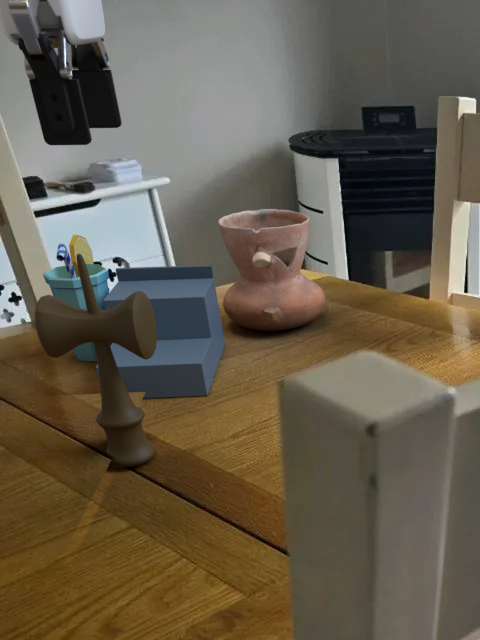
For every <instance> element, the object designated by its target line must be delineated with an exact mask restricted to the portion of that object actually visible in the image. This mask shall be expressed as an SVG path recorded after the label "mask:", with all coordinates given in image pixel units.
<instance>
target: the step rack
mask: <svg viewBox="0 0 480 640" xmlns="http://www.w3.org/2000/svg"><path fill="white" fill-rule="evenodd" d="M115 273H116V278H117V283H116V284H115V285H114V286H113V287H112V289H111V290H109V294H108V295H107V296H106V297H105V299H104V300H103V303H104V307H105V310H108V309H112V308H114V307H115V306H117V305H118V304H119V303H121V302H122V301H123V300H124V299H126V298H127V297H128V296H130V295H131V294H133V293H135V292H137V291H142V292H143V293H145V294H146V295H147V297H148V299H149V301H150V303H151V305H152V308H153V312H154V315H155V321H156V328H157V344H156V349H155V352H154V354H153V356H152V357H151V358H149V359H143V358H141V357H139V356H137V355H135V354H134V353H132V352H130V351H129V350H127V349H125V348H123V347H122V346H120V345H118V344H115V343H112V344H111V346H110V347H111V350H112V353H113V356H114V359H115V361H116V364H117V367H118V369H119V372H120V375H121V377H122V380H123V382H124V384H125V387H126V389H127V391H128V394H129V393H144V395H143V397H142V400H143V399H163V398H164V399H165V398H166V399H167V398H183V397H184V398H188V397H208V396H209V395H208V394H209V393H210V389H211V387H212V384H213V380H214V378H215V375H216V373H217V369H218V367H219V364H220V361H221V358H222V355H223V354H224V353H223V352H224V349H225V347H226V342H225V336H224V335H225V334H224V329H223V324H222V318H221V311H220V306H219V300H218V295H217V287H216V282H215V278H214V270H213V265H212V264H200V265H197V264H196V265H171V266H170V265H169V266H167V265H165V266H140V267H139V266H138V267H116V268H115ZM95 371H96V374H97V378H98V382H99V383H100V379H99V371H98V364H96V366H95Z"/></svg>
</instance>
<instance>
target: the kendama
mask: <svg viewBox="0 0 480 640" xmlns="http://www.w3.org/2000/svg"><path fill="white" fill-rule="evenodd" d="M76 258H77V266H78V271H79V276H80V280H81V285H82V289H83V294H84V298H85V303H86V307H87V310H85V309H80V308H77V307H74V306H72V305H70V304H68V303H66V302H64V301H62V300H60V299H58V298H56V297H54V296H53V294H52V295H51V294H46V295H42V296H40V297H39V299H38V300H37V302H36V304H35V310H34V326H35V331H36V335H37V337H38V340H39V343H40V345H41V348H42V349H43V350H44V351H45V353H46V355H47V356H49V357H51V358H54V359H57V358H61V357H63V356H65V355H67V354H68V353H70V352H71V351H74V350H73V349H74V348H76V347H77V346H79V345H81V344H85V343H90V342H94V346H95V351H96V357H97V361H96V363H97V364H96V365H98V371H99V379H100V382H99V387H100V398H101V401H100V402H101V407H100V411H99V413H98V414H97V415H96V418H95V422H96V423H97V425H98V426H99V427H100V428H102V429H103V432H104V433H105V437H106V442H107V446H106V447H107V448H106V450H105V452H106V453H107V455H108V456H112V458H111V460H110V462H109V464H108V465H109V466H112V467H115V468H132V467H136V466H140V465H143V464H146V463H148V462H150V461H151V460H152V459H153V458H154V457H155V455H156V454H157V447H156V445H154V444H153V442H151V441H150V440H148V438H147V436H146V434H145V431H144V429H143V421H144V418H145V416H146V415H145V414H146V412H144V410H143V409H142V408H140V407H138V406H136V405H135V403H134V401H133V400H132V398H131V396H130V394H129V393H128V391H127V389H126V387H125V384H124V382H123V380H122V377H121V375H120V372H119V369H118V367H117V364H116V361H115V359H114V356H113V353H112V350H111V347H110V344H109V342H111V343H115V344H118V345H120V346H122V347H123V348H125V349H127V350H129V351H130V352H132V353H134V354H135V355H137V356H139V357H141V358H143V359H149V358H151V357H152V356H153V354H154V352H155V349H156V344H157V328H156V321H155V315H154V312H153V308H152V305H151V303H150V301H149V299H148V297H147V295H146V294H145V293H143V292H142V291H137V292H135V293H133V294H131V295H130V296H128V297H127V298H126V299H124V300H123V301H122V302H121V303H119V304H118V305H117V306H115V307H114V308H112V309H108V310H99V308H98V304H97V301H96V297H95V294H94V290H93V287H92V283H91V280H90V276H89V273H88V270H87V267H86V263H85V261H84V258H83V256H82V255H81V254H77V256H76ZM99 379H98V380H99Z"/></svg>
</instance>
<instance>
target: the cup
mask: <svg viewBox="0 0 480 640" xmlns="http://www.w3.org/2000/svg"><path fill="white" fill-rule="evenodd" d="M68 249H69V250H68ZM77 254H81V255H82V256H83V258H84V261H85V263H86V267H87V270H88V273H89V276H90V280H91V283H92V287H93V290H94V294H95V297H96V301H97V304H98V308H99V310H105V307H104V303H103V300H104V299H105V297H106V296H107V295H108V294H109V293H110V289H109V284H108V280H109V279H110V276H109V270H108V269H107V268H105V267H104V266H102V265H101V264H99V263H97V264H96V263H94V256H93V251H92V248H91V246H90V244H89V242H88V240H87V239H86V237H84V236H82V235H79V234H72V237H71V239H70V241H69V244H68V247H67V246H66V245H65V243H62V242H60V243H58V245H57V250H56V257H55V259H56V260H57V261H58V262H64V265H62V266H56V267H54V268H52V269H49V270H48V271H46V272H43V274H42V276H43V278H44V281H45V283H46V284H47V285H48V286H49V288H50V291H51V293H52V296H54V297H56V298H58V299H60V300H62V301H64V302H66V303H68V304H70V305H72V306H74V307H77V308H80V309H85V310H87V307H86V303H85V298H84V294H83V289H82V285H81V280H80V276H79V271H78V266H77V258H76V256H77ZM109 344H110V346H111V344H112V343H111V342H109ZM72 351H73V352H74V355H75V358H77V359H78V360H79V361H81V362H97V357H96V351H95V346H94V342H90V343H85V344H81V345H79V346H77V347H76V348H74V349H73V350H72Z"/></svg>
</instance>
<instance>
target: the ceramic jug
mask: <svg viewBox="0 0 480 640" xmlns="http://www.w3.org/2000/svg"><path fill="white" fill-rule="evenodd" d="M310 222H311V219H310V216H308V215H306V214H304V213H302V212H297V211H293V210H289V209H276V208H261V209H256V210H243V211H240V212H234V213H231V214H228V215H223V216H222V217H221V218H219V220H218V222H217V225H218V229H219V232H220V235H221V239H222V240H223V243H224V245H225V248H226V249H227V252H228V254H229V255H230V258H231V260H232V262H233V263H234V265H235V267H236V268H237V270H238V272H239V274H240V277H239V278H238V279H237V280H236V281H235V282H234V283H233V284H232V285H230V286H229V288H228V289H227V290H226V291H225V294H224V295H223V300H222V306H223V307H222V308H223V310H224V312H225V314H226V315H227V317H228V318H230V320H232V321H233V322H234V323H236V324H237V325H239V326H241V327H243V328H246V329H250V330H256V331H264V332H265V331H266V332H275V331H276V332H278V331H285V330H291V329H296V328H298V327H301V326H304V325H307V324H309V323H310V322H312V321H314V320H315V319H316V318H318V317H319V316H320V315H321V314H322V313H323V311H324V309H325V307H326V295H325V293H324V290H323V289H322V287H321V286H319V285H318V284H317V283H316V282H314V280H311V279H310V278H308V277H307V276H305V275H304V274H303V273H302V272H301V269H302V266H303V262H304V260H305V256H306V252H307V251H306V250H307V246H308V241H309V236H310V225H311V223H310Z"/></svg>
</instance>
